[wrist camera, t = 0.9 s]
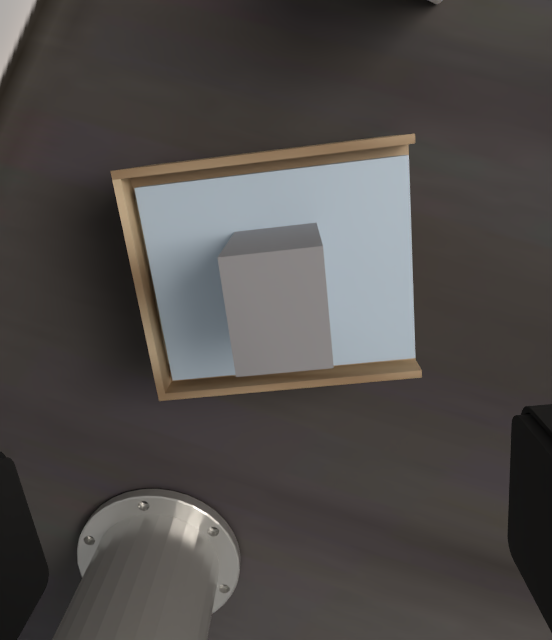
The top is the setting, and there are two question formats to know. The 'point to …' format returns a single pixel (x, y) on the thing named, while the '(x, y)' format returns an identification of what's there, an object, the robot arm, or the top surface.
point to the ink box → (436, 1)
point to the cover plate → (275, 200)
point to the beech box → (226, 167)
